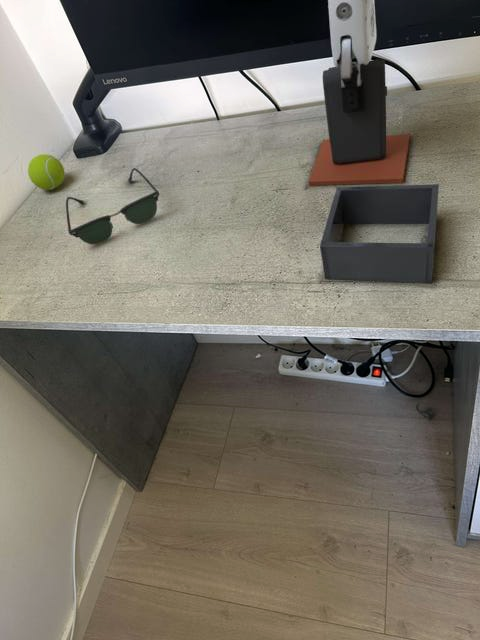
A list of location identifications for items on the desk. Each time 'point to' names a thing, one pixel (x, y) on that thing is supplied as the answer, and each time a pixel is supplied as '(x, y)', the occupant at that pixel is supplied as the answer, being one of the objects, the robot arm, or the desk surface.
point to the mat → (362, 166)
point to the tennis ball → (46, 172)
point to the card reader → (357, 116)
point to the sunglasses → (102, 226)
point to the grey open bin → (380, 257)
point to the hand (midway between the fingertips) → (356, 101)
